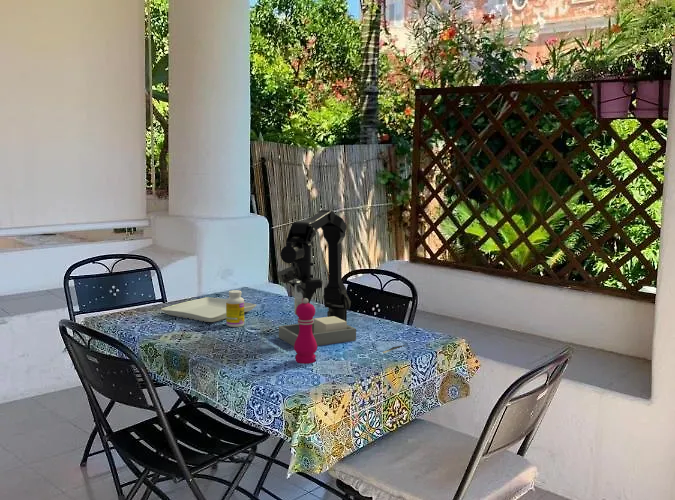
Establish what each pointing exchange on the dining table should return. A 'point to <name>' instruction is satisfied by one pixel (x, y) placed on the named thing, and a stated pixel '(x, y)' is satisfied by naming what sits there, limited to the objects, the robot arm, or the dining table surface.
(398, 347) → the butter knife
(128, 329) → the dining table surface
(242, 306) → the supplement bottle
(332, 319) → the cream hollow cover
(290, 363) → the dining table surface
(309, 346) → the pepper mill
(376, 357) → the dining table surface
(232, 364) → the dining table surface
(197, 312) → the square plate
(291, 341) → the tote
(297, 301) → the tin
